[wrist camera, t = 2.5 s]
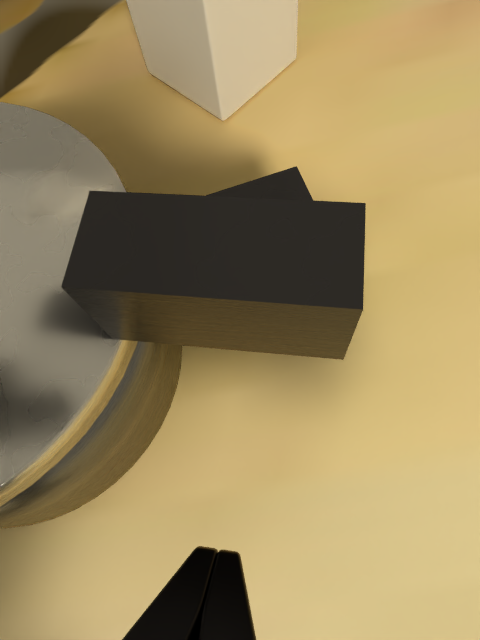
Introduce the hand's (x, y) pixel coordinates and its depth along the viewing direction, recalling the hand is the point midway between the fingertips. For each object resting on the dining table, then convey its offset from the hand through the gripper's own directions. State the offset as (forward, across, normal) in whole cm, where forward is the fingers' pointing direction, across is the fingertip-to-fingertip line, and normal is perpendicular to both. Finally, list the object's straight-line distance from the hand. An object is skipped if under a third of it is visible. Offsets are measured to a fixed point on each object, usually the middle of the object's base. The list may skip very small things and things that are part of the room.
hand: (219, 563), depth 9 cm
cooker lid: (+8, +9, -1) cm, 12 cm away
